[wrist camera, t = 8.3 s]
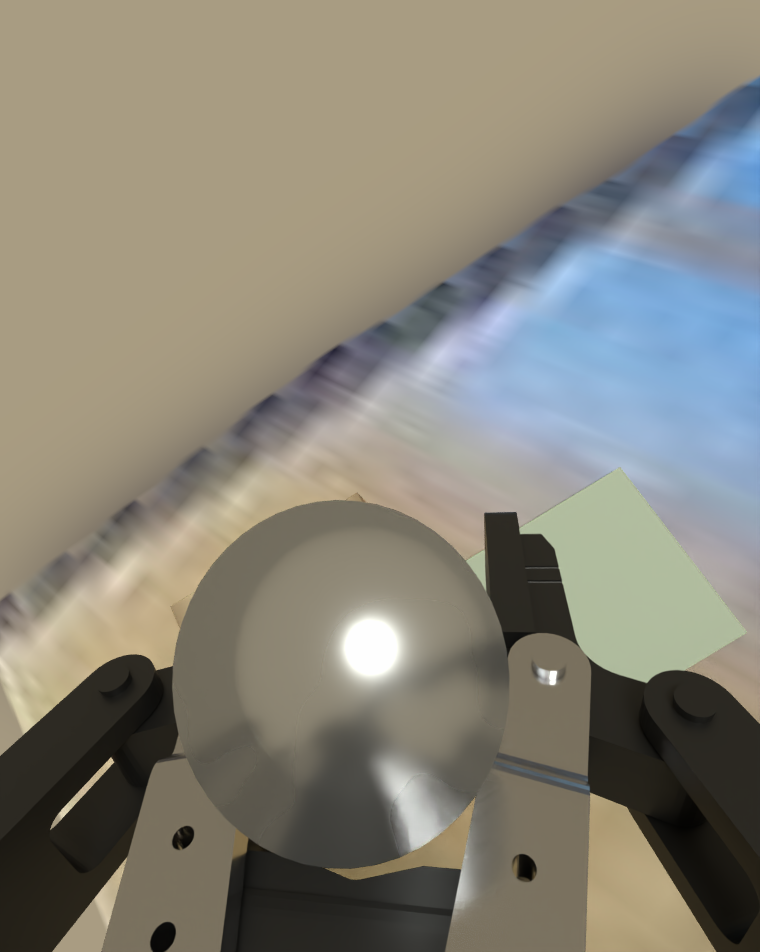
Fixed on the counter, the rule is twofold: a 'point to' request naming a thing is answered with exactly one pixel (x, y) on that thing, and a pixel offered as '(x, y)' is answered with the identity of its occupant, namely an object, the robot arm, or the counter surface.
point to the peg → (340, 684)
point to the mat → (629, 583)
